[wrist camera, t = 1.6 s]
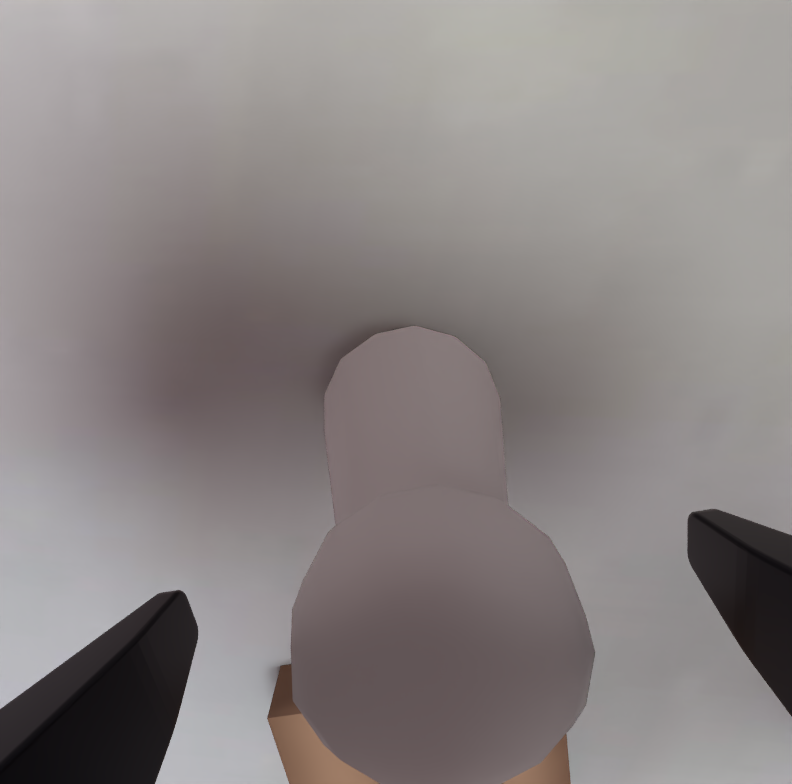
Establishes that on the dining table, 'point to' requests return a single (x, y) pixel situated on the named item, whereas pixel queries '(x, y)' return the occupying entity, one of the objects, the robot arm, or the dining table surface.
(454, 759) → the salt shaker
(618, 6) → the dining table surface
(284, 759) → the walnut riser block
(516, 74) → the dining table surface
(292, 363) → the dining table surface
